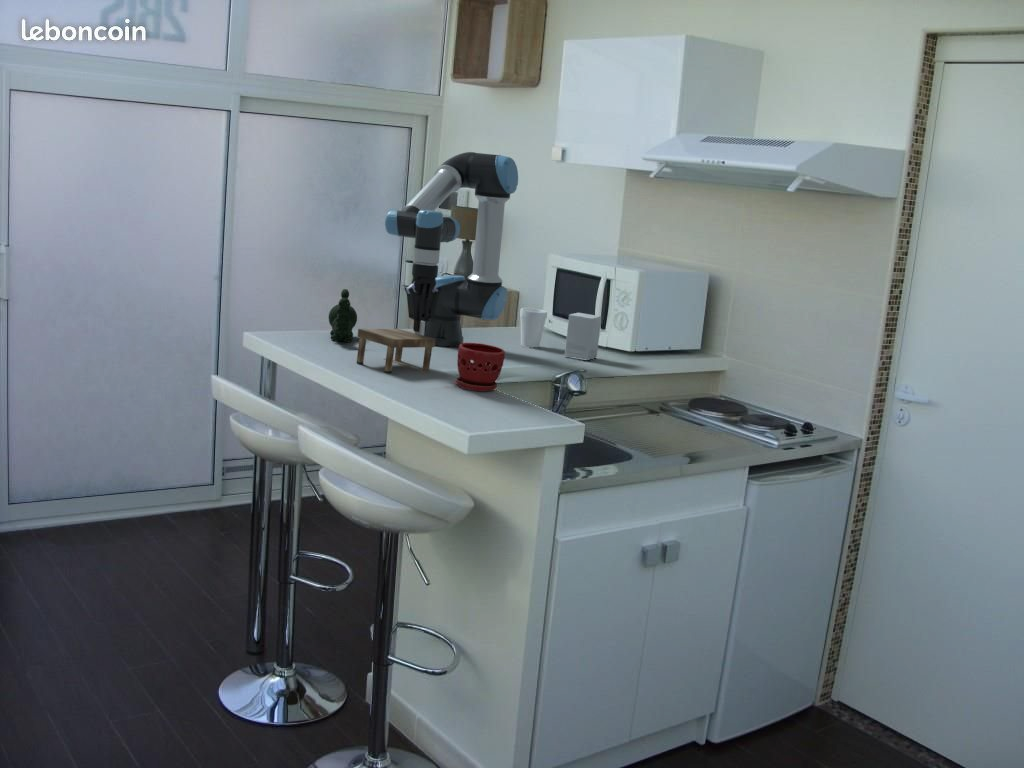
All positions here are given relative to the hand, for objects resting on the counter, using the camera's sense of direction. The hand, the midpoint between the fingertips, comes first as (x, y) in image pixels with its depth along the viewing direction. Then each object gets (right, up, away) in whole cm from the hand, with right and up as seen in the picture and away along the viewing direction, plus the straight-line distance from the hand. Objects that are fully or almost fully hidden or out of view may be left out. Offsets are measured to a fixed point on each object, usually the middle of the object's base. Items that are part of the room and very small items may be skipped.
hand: (418, 342), depth 329 cm
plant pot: (+18, -14, -17) cm, 28 cm away
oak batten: (-4, -8, -1) cm, 9 cm away
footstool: (-1, -2, 0) cm, 3 cm away
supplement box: (+51, -4, +50) cm, 72 cm away
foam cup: (+34, +1, +62) cm, 71 cm away
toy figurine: (-28, +2, +35) cm, 45 cm away
